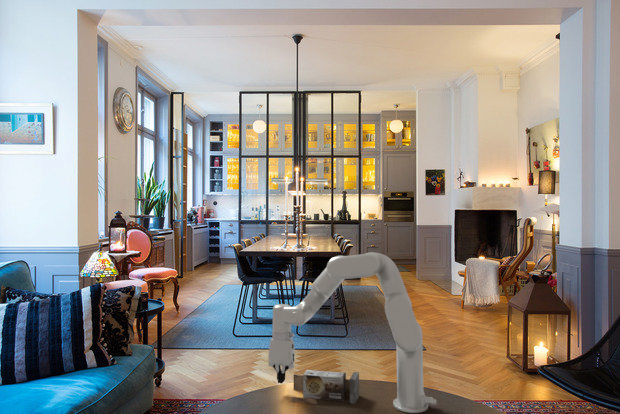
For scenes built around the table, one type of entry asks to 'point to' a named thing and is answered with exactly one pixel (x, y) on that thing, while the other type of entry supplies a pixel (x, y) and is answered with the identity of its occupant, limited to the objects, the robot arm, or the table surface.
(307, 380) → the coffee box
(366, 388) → the table surface
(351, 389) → the book slot
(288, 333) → the robot arm
